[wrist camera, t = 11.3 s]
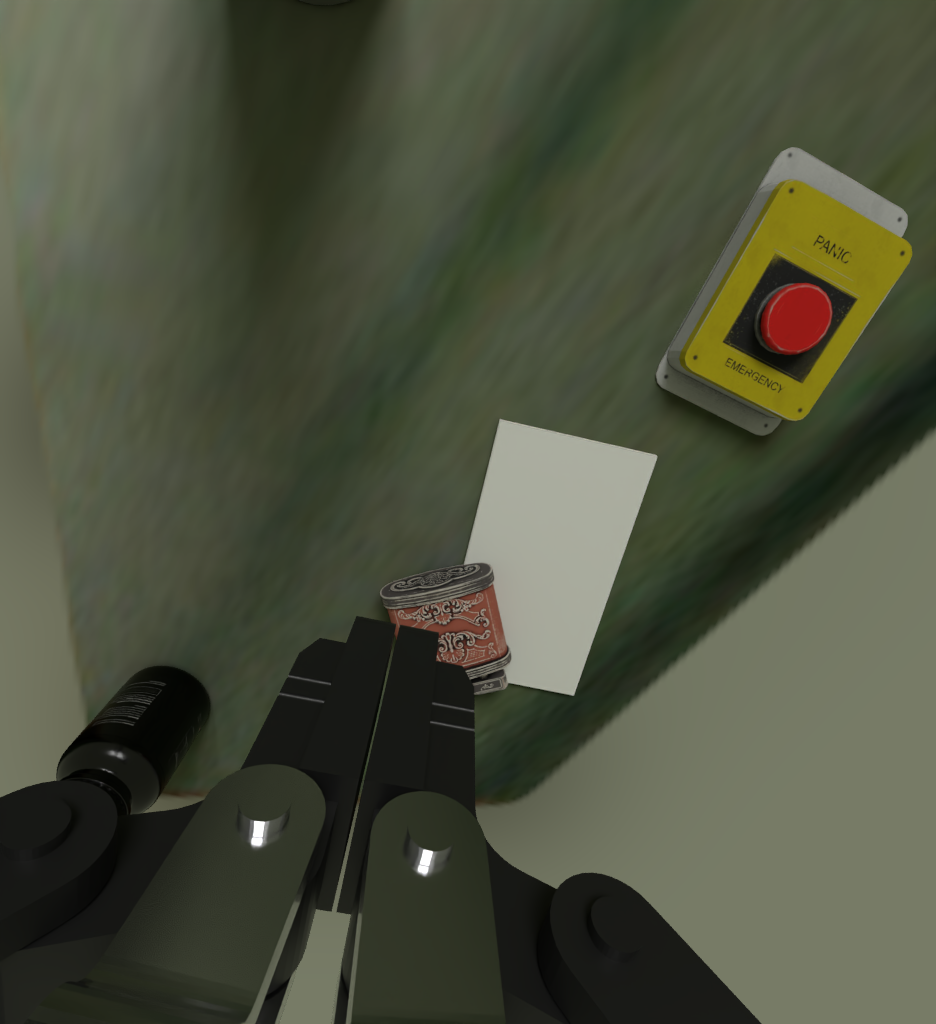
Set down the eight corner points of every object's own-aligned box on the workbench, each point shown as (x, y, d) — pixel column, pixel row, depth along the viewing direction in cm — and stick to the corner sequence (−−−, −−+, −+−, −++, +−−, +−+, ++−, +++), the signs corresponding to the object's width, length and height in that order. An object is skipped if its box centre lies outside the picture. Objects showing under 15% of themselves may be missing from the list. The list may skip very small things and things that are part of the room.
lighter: (381, 581, 41) (414, 693, 44) (378, 603, 38) (413, 722, 41) (489, 557, 41) (514, 671, 44) (494, 577, 38) (521, 698, 41)
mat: (438, 665, 44) (438, 669, 44) (499, 418, 38) (499, 420, 37) (572, 691, 45) (573, 695, 45) (655, 454, 38) (657, 456, 38)
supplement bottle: (116, 709, 46) (0, 839, 35) (145, 648, 44) (32, 765, 33) (195, 744, 47) (108, 881, 36) (226, 686, 45) (145, 811, 34)
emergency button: (668, 389, 33) (824, 118, 29) (646, 380, 37) (780, 142, 33) (798, 454, 34) (967, 204, 30) (763, 439, 39) (907, 217, 34)
